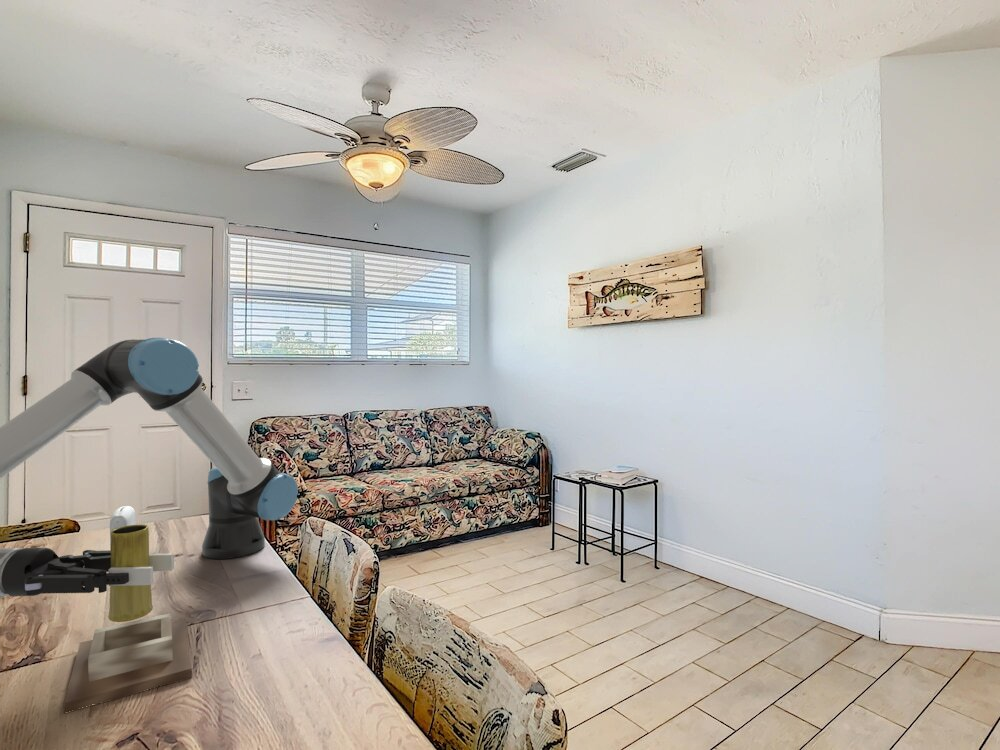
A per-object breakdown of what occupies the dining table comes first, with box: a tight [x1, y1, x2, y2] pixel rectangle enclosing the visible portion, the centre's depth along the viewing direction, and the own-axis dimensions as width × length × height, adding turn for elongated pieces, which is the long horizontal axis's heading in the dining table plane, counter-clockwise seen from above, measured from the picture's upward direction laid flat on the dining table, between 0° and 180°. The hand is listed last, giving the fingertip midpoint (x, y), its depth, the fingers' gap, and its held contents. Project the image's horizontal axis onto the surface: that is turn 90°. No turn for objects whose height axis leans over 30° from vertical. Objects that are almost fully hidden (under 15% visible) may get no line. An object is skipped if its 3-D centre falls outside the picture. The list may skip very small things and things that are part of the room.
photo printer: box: [109, 505, 136, 550], centre depth 142 cm, size 10×4×12 cm, turn 22°
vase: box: [107, 524, 153, 623], centre depth 90 cm, size 6×6×14 cm
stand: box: [63, 612, 193, 714], centre depth 90 cm, size 16×20×5 cm
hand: (162, 568), depth 90 cm, fingers closed on vase, 5 cm apart
